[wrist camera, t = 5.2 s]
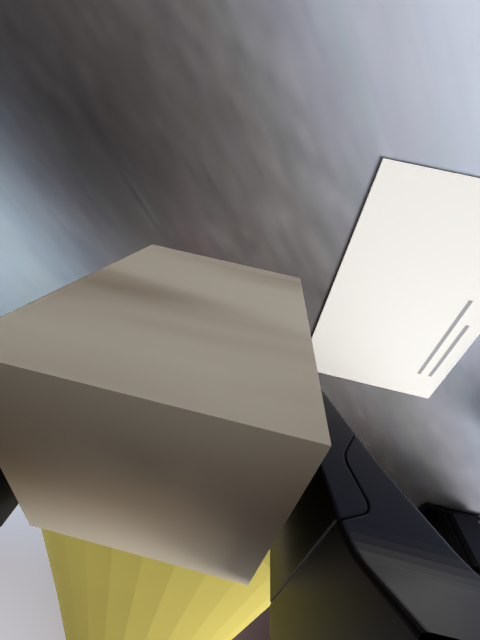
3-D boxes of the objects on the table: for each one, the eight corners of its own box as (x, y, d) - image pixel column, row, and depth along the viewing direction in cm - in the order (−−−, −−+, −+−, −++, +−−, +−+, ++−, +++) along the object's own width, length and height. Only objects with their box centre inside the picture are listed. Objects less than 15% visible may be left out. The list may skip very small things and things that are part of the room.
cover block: (264, 388, 11) (247, 585, 5) (151, 360, 11) (30, 524, 6) (300, 278, 8) (331, 446, 3) (152, 244, 8) (-63, 347, 3)
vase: (192, 505, 33) (102, 835, 16) (81, 418, 27) (-230, 787, 11) (320, 471, 26) (392, 1000, 9) (205, 344, 20) (-155, 1117, 4)
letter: (427, 397, 19) (428, 398, 19) (300, 366, 20) (300, 367, 20) (583, 199, 12) (586, 200, 12) (382, 158, 13) (383, 158, 13)
